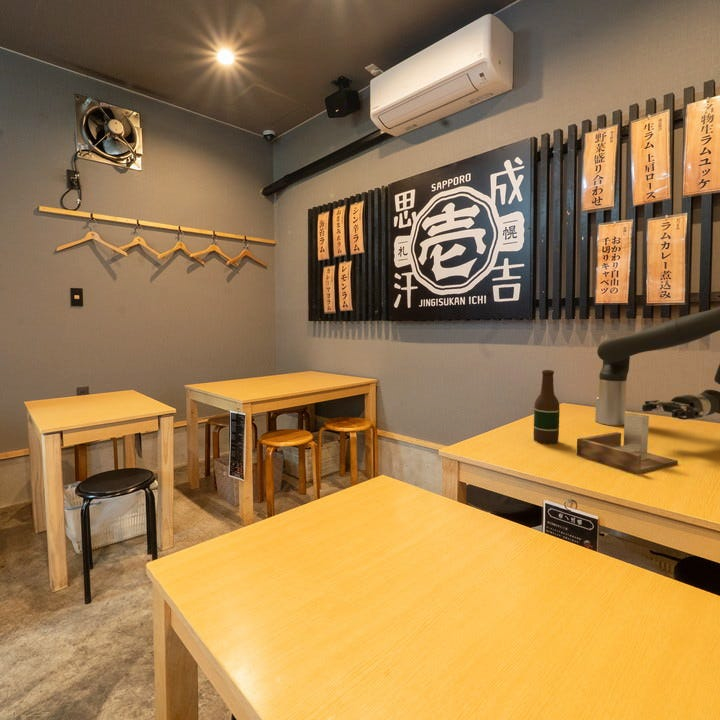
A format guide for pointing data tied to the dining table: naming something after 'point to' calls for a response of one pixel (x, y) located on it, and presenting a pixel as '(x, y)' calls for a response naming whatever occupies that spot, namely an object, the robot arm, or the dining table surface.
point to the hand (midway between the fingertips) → (658, 410)
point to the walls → (609, 450)
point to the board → (646, 463)
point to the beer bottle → (546, 412)
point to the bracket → (636, 434)
